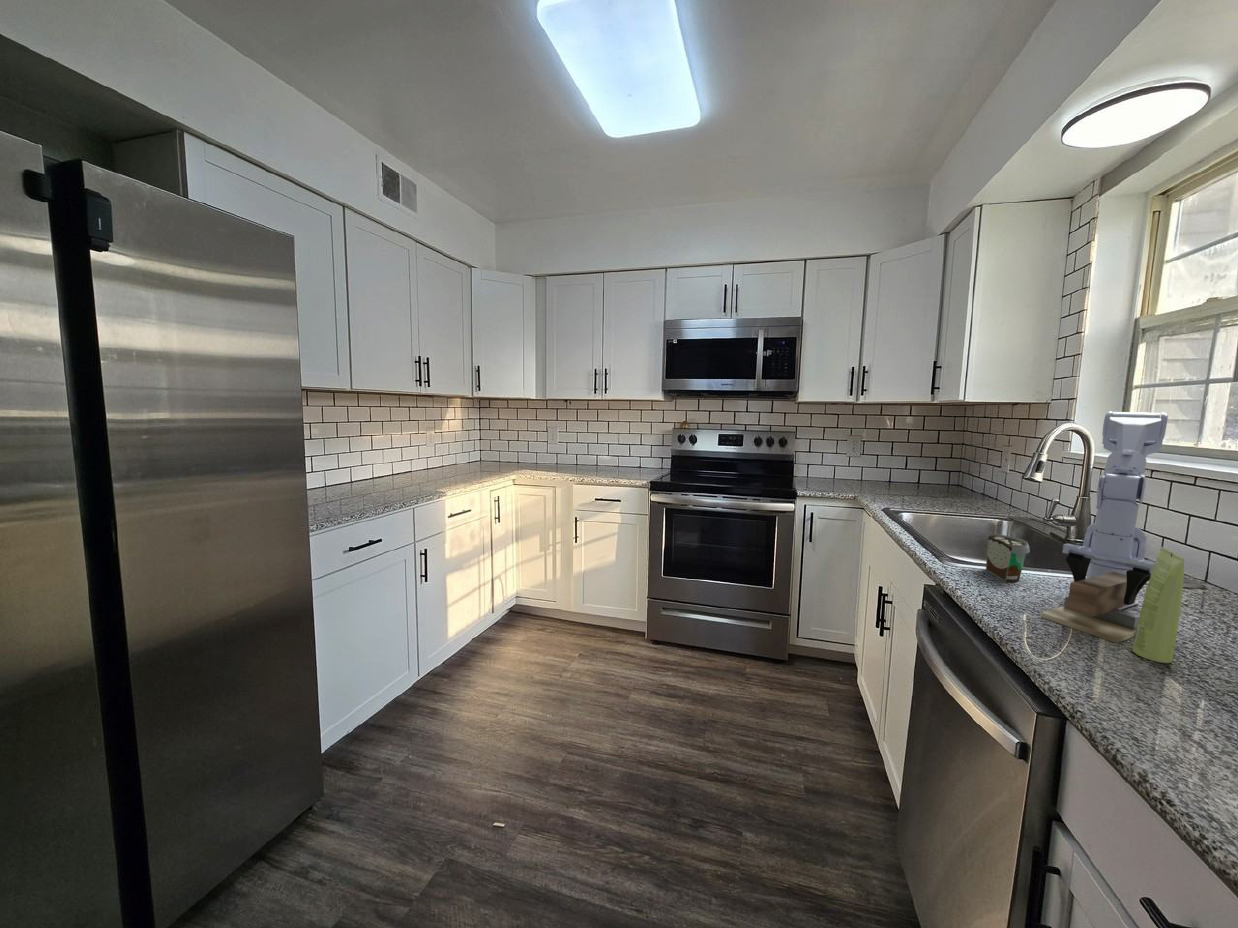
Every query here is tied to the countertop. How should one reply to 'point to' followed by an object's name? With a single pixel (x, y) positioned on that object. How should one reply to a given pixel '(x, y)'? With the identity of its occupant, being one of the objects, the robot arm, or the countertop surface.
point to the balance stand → (1097, 622)
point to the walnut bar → (1098, 594)
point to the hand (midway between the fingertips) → (1103, 596)
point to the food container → (1006, 556)
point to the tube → (1160, 609)
